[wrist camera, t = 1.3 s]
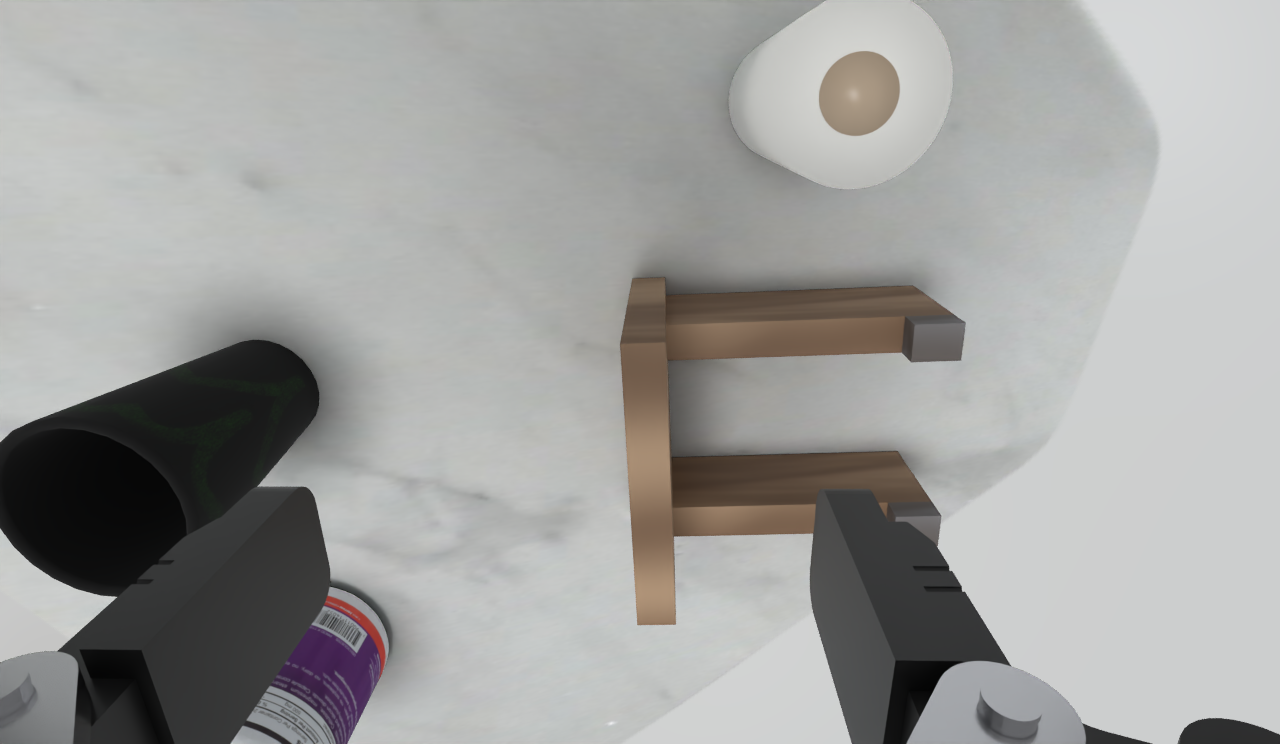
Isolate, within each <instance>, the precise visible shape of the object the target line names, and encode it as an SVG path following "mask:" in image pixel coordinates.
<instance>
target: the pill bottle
mask: <svg viewBox="0 0 1280 744" xmlns="http://www.w3.org/2000/svg"><path fill="white" fill-rule="evenodd" d="M388 652H389V643H388V638H387V634H386V631H385V628H384V626H383V624H382V622H381V620H380V619H379V617H378V616H377V615H376V613H375V612H374V611H373V610H372V609H371V608H370V607H369V606H368V605H367V604H366V603H365V602H363V601H362V600H361V599H359V598H358V597H356V596H355V595H353V594H351V593H348V592H346V591H343V590H340V589H337V588H333V587H329V592H328V596H327V599H326V602H325V604H324V606H323V608H322V610H321V611H320V613H319V614H318V616H317V617H316V619H315V620H314V622H313V623H312V624H311V626H310V627H309V629H308V630H307V632H306V633H305V635H304V636H303V638H302V639H301V641H300V642H299V644H298V645H297V647H296V648H295V649H294V651H293V652H292V654H291V655H290V657H289V658H288V660H287V661H286V663H285V664H284V666H283V667H282V669H281V670H280V672H279V673H278V675H277V676H276V677H275V679H274V680H273V682H272V683H271V685H270V686H269V688H268V689H267V691H266V692H265V694H264V695H263V697H262V698H261V700H260V701H259V703H258V704H257V705H256V707H255V708H254V710H253V711H252V713H251V714H250V716H249V717H248V719H247V720H246V722H245V723H244V725H243V726H242V728H241V729H240V730H239V732H238V733H237V735H236V736H235V738H234V739H233V741H232V742H231V744H347V743H348V741H349V739H350V737H351V735H352V733H353V731H354V729H355V727H356V725H357V723H358V721H359V719H360V717H361V715H362V713H363V710H364V708H365V706H366V704H367V702H368V700H369V698H370V696H371V694H372V692H373V690H374V688H375V686H376V684H377V682H378V680H379V678H380V677H381V674H382V672H383V670H384V668H385V665H386V662H387V658H388Z"/></svg>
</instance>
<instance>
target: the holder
mask: <svg viewBox="0 0 1280 744" xmlns="http://www.w3.org/2000/svg"><path fill="white" fill-rule="evenodd" d="M965 324H966V323H965V322H964V321H962V320H961V319H959V318H958V317H957V316H955V315H954V314H952V313H951V312H950V311H948V310H947V309H945V308H944V307H943V306H941V305H940V304H938V303H937V302H935V301H934V300H933V299H931V298H930V297H928V296H927V295H926V294H924V293H923V292H921V291H920V290H919V289H917V288H916V287H914V286H892V287H867V288H841V289H815V290H789V291H763V292H738V293H712V294H686V295H666V290H665V277H662V278H637V279H632V283H631V289H630V294H629V299H628V305H627V310H626V315H625V321H624V326H623V331H622V337H621V342H620V350H621V366H622V382H623V398H624V415H625V431H626V447H627V463H628V479H629V495H630V511H631V528H632V544H633V560H634V576H635V592H636V608H637V625H676V609H675V565H674V536H719V535H764V534H810V533H814V521H815V510H816V500H817V495H818V492H819V490H820V489H870V490H871V491H872V493H873V494H874V496H875V498H876V500H877V502H878V503H879V505H880V507H881V509H882V511H883V513H884V515H885V516H886V518H887V520H888V522H908V523H910V524H911V525H912V526H914V527H915V528H916V529H918V530H919V531H920V532H922V533H923V534H924V535H925V536H927V537H928V538H929V539H931V540H932V541H933V542H934V543H935V544H936V546H938V539H939V530H940V523H941V515H940V513H939V512H938V510H937V509H936V507H935V506H934V504H933V503H932V501H931V500H930V498H929V497H928V495H927V494H926V493H925V491H924V490H923V488H922V487H921V485H920V484H919V482H918V481H917V479H916V478H915V476H914V475H913V473H912V472H911V470H910V469H909V468H908V466H907V465H906V463H905V462H904V460H903V459H902V457H901V456H900V454H899V453H898V451H890V452H854V453H817V454H781V455H745V456H708V457H671V429H670V401H669V373H668V360H695V359H725V358H754V357H783V356H812V355H841V354H871V353H900V352H902V353H903V354H904V355H905V356H906V357H907V358H908V359H909V360H910V361H911V362H930V361H960V360H961V356H962V348H963V340H964V332H965Z"/></svg>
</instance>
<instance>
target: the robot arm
mask: <svg viewBox="0 0 1280 744" xmlns="http://www.w3.org/2000/svg"><path fill="white" fill-rule="evenodd" d="M329 587H330V566H329V562H328V557H327V552H326V548H325V543H324V538H323V534H322V529H321V525H320V520H319V515H318V511H317V506H316V502H315V498H314V496H313V494H312V492H311V491H310V490H309V489H308V488H306V487H255V488H253V489H251V490H250V491H249V492H248V493H247V494H246V495H245V496H243V497H242V498H241V499H240V500H239V501H238V502H237V503H236V504H235V505H234V506H233V507H232V508H231V509H229V510H228V511H227V512H226V513H225V514H224V515H223V516H222V517H221V518H218V519H216V520H214V521H212V522H210V523H209V524H207V525H205V526H203V527H202V528H200V529H198V530H196V531H194V532H193V533H191V534H189V535H187V536H185V537H184V538H183V539H182V540H180V541H179V542H178V543H177V544H176V545H175V546H174V547H173V548H172V549H170V550H169V551H168V552H167V553H166V554H165V555H164V556H163V557H162V558H160V559H159V563H158V565H153V566H152V567H150V568H149V569H148V570H147V571H146V572H145V573H144V574H143V575H142V576H140V577H139V578H138V579H137V584H131V585H130V586H129V587H128V588H127V589H126V590H125V591H124V592H123V593H121V594H120V595H119V596H118V597H117V598H116V599H115V600H114V601H113V602H111V603H110V604H109V605H108V606H107V607H106V608H105V609H104V610H103V611H101V612H100V613H99V614H98V615H97V616H96V617H95V618H94V619H93V620H91V621H90V622H89V623H88V624H87V625H86V626H85V627H84V628H83V629H81V630H80V631H79V632H78V633H77V634H76V635H75V636H74V637H73V638H71V639H70V640H69V641H68V642H67V643H66V644H65V645H64V646H63V647H62V648H60V649H59V650H58V651H57V652H56V651H44V652H37V653H31V654H27V655H22V656H18V657H15V658H11V659H8V660H5V661H3V662H0V744H231V742H232V741H233V739H234V738H235V736H236V735H237V733H238V732H239V730H240V729H241V728H242V726H243V725H244V723H245V722H246V720H247V719H248V717H249V716H250V714H251V713H252V711H253V710H254V708H255V707H256V705H257V704H258V703H259V701H260V700H261V698H262V697H263V695H264V694H265V692H266V691H267V689H268V688H269V686H270V685H271V683H272V682H273V680H274V679H275V677H276V676H277V675H278V673H279V672H280V670H281V669H282V667H283V666H284V664H285V663H286V661H287V660H288V658H289V657H290V655H291V654H292V652H293V651H294V649H295V648H296V647H297V645H298V644H299V642H300V641H301V639H302V638H303V636H304V635H305V633H306V632H307V630H308V629H309V627H310V626H311V624H312V623H313V622H314V620H315V619H316V617H317V616H318V614H319V613H320V611H321V610H322V608H323V606H324V604H325V602H326V599H327V596H328V592H329ZM810 593H811V602H812V608H813V613H814V617H815V620H816V623H817V627H818V630H819V634H820V637H821V641H822V644H823V647H824V651H825V654H826V657H827V660H828V664H829V668H830V671H831V674H832V677H833V681H834V684H835V688H836V691H837V695H838V698H839V701H840V705H841V708H842V711H843V715H844V718H845V721H846V725H847V728H848V732H849V735H850V738H851V742H852V744H1151V743H1147V742H1143V741H1140V740H1136V739H1132V738H1128V737H1124V736H1121V735H1117V734H1112V733H1108V732H1105V731H1102V730H1099V729H1096V728H1093V727H1090V726H1087V725H1085V724H1083V723H1082V722H1081V719H1080V717H1079V716H1078V714H1077V713H1076V711H1075V710H1074V708H1073V707H1072V706H1071V705H1070V704H1069V702H1068V701H1067V700H1066V699H1065V698H1064V697H1063V696H1062V695H1061V694H1059V693H1058V692H1057V691H1056V690H1055V689H1053V688H1052V687H1051V686H1049V685H1048V684H1047V683H1045V682H1043V681H1042V680H1040V679H1038V678H1037V677H1035V676H1033V675H1031V674H1029V673H1027V672H1025V671H1023V670H1020V669H1017V668H1014V667H1012V666H1011V665H1010V664H1009V662H1008V661H1007V659H1006V657H1005V655H1004V654H1003V652H1002V651H1001V649H1000V647H999V646H998V644H997V643H996V641H995V639H994V638H993V636H992V635H991V633H990V631H989V630H988V628H987V627H986V625H985V623H984V622H983V620H982V618H981V617H980V615H979V614H978V612H977V610H976V609H975V607H974V606H973V604H972V603H971V601H970V599H969V598H968V596H967V594H966V593H965V592H962V586H961V585H960V583H959V582H958V580H957V578H956V577H955V575H954V573H953V572H952V571H949V565H948V564H947V562H946V561H945V559H944V557H943V556H942V554H941V552H940V551H939V549H938V548H937V546H936V544H935V543H934V542H933V541H932V540H931V539H929V538H928V537H927V536H925V535H924V534H923V533H922V532H920V531H919V530H918V529H916V528H915V527H914V526H912V525H911V524H910V523H908V522H888V520H887V518H886V516H885V515H884V513H883V511H882V509H881V507H880V505H879V503H878V502H877V500H876V498H875V496H874V494H873V493H872V491H871V490H870V489H820V490H819V492H818V495H817V500H816V510H815V521H814V533H813V544H812V556H811V567H810ZM1178 744H1280V735H1279V734H1277V733H1274V732H1272V731H1269V730H1267V729H1264V728H1261V727H1258V726H1255V725H1252V724H1249V723H1245V722H1241V721H1236V720H1230V719H1222V718H1212V719H1211V718H1208V719H1202V720H1198V721H1195V722H1193V723H1191V724H1189V725H1188V726H1187V727H1186V728H1184V730H1183V732H1182V734H1181V735H1180V738H1179V741H1178Z"/></svg>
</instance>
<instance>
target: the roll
mask: <svg viewBox="0 0 1280 744" xmlns="http://www.w3.org/2000/svg"><path fill="white" fill-rule="evenodd" d="M952 90H953V68H952V61H951V56H950V51H949V48H948V46H947V43H946V40H945V38H944V36H943V34H942V32H941V30H940V28H939V27H938V26H937V24H936V23H935V22H934V20H933V19H932V18H931V17H930V16H929V15H928V14H927V13H926V12H925V11H924V10H923V9H922V8H921V7H919V6H918V5H917V4H915V3H914V2H912V1H911V0H827V1H825V2H823V3H822V4H820V5H818V6H817V7H815V8H813V9H812V10H810V11H809V12H807V13H806V14H804V15H803V16H801V17H800V18H798V19H797V20H796V21H794V22H793V23H791V24H790V25H788V26H787V27H785V28H784V29H782V30H781V31H779V32H778V33H776V34H775V35H773V36H772V37H770V38H769V39H767V40H766V41H764V42H763V43H761V44H760V45H758V46H757V47H756V48H754V49H753V50H752V51H751V52H750V53H749V54H748V55H747V56H746V57H745V58H744V60H743V61H742V62H741V63H740V65H739V67H738V68H737V70H736V72H735V74H734V77H733V79H732V82H731V86H730V91H729V100H728V105H729V114H730V119H731V122H732V125H733V128H734V130H735V132H736V134H737V135H738V137H739V138H740V140H741V141H742V142H743V143H744V144H745V145H746V146H747V147H748V148H749V149H750V150H751V151H753V152H755V153H756V154H758V155H760V156H762V157H764V158H766V159H768V160H770V161H772V162H774V163H776V164H778V165H780V166H782V167H784V168H786V169H789V170H791V171H793V172H795V173H797V174H799V175H801V176H803V177H805V178H807V179H809V180H811V181H813V182H815V183H818V184H820V185H823V186H827V187H830V188H837V189H861V188H867V187H871V186H875V185H878V184H881V183H883V182H886V181H888V180H890V179H892V178H894V177H896V176H898V175H899V174H901V173H902V172H904V171H905V170H907V169H908V168H909V167H911V166H912V165H913V164H914V163H915V162H916V161H917V160H919V158H920V157H921V156H922V155H923V154H924V153H925V152H926V151H927V150H928V148H929V147H930V146H931V144H932V143H933V141H934V140H935V138H936V137H937V135H938V133H939V131H940V130H941V128H942V125H943V123H944V121H945V118H946V116H947V113H948V109H949V106H950V102H951V96H952Z"/></svg>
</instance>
